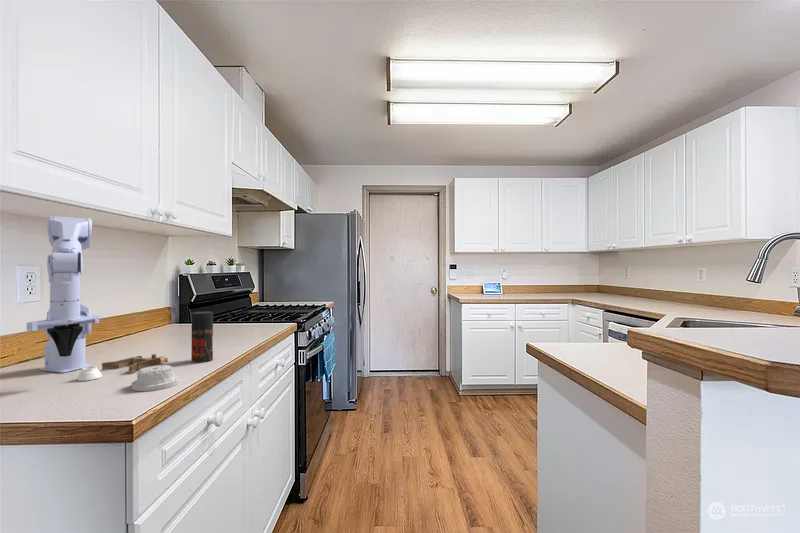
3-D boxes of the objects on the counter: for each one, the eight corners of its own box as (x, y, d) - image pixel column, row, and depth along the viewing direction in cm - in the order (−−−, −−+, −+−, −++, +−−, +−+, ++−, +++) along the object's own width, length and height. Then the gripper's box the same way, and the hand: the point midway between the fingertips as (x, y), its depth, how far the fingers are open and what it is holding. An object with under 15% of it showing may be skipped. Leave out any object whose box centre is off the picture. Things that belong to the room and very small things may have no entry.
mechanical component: (120, 391, 91) (155, 393, 89) (120, 372, 91) (156, 374, 89) (155, 379, 101) (188, 381, 99) (155, 362, 101) (188, 364, 99)
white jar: (83, 377, 102) (72, 382, 97) (83, 366, 102) (72, 371, 97) (105, 376, 103) (95, 381, 98) (105, 365, 103) (95, 370, 98)
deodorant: (189, 360, 120) (189, 312, 120) (209, 357, 124) (209, 311, 124) (194, 363, 116) (194, 314, 116) (215, 360, 120) (215, 312, 120)
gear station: (100, 370, 108) (100, 361, 108) (150, 358, 123) (150, 350, 123) (130, 374, 105) (130, 365, 105) (179, 361, 119) (179, 353, 119)
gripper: (40, 303, 87) (40, 364, 87) (107, 299, 101) (107, 351, 101) (20, 303, 89) (20, 361, 89) (88, 298, 103) (88, 349, 103)
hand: (65, 355), depth 95 cm, fingers closed
